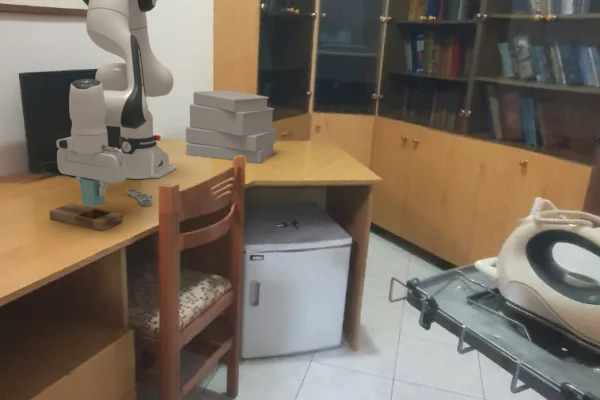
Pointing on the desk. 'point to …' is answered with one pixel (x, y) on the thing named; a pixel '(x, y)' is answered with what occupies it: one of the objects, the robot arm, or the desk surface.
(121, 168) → the robot arm
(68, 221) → the brown frame
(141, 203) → the bracket
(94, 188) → the teal square prism
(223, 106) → the book stack
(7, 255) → the desk surface
